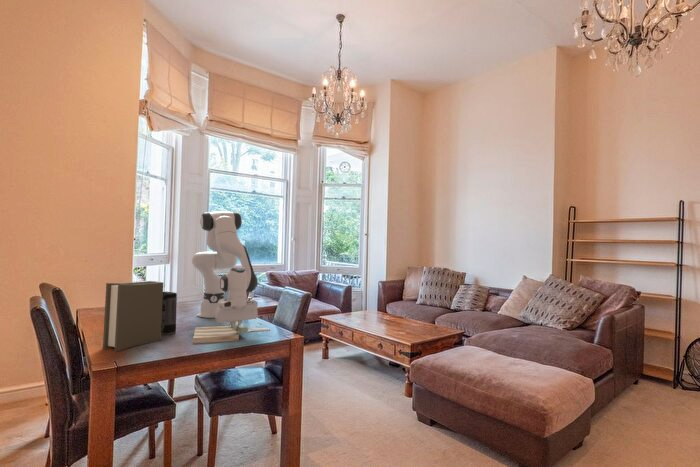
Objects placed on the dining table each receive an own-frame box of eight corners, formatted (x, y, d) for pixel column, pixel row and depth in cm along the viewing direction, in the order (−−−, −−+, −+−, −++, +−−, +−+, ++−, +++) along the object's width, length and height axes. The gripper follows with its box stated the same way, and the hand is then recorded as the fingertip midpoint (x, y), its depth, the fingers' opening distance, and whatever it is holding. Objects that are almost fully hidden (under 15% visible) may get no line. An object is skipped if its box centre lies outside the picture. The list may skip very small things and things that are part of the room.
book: (148, 338, 182) (151, 279, 183) (161, 340, 178) (164, 281, 179) (102, 348, 163) (106, 283, 163) (116, 351, 158) (120, 284, 159)
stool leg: (230, 325, 196) (230, 320, 196) (236, 325, 198) (236, 319, 198) (241, 333, 181) (241, 327, 181) (247, 333, 183) (247, 326, 183)
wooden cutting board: (195, 332, 192) (195, 327, 192) (268, 328, 204) (268, 323, 204) (193, 343, 173) (193, 337, 173) (273, 338, 185) (273, 333, 185)
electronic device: (154, 332, 190) (155, 292, 190) (165, 330, 195) (166, 291, 195) (166, 335, 185) (167, 294, 185) (177, 332, 191) (178, 292, 191)
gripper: (255, 298, 193) (254, 326, 193) (214, 302, 181) (213, 331, 181) (260, 300, 188) (259, 328, 188) (218, 304, 176) (217, 334, 176)
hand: (236, 330), depth 184 cm, fingers closed
